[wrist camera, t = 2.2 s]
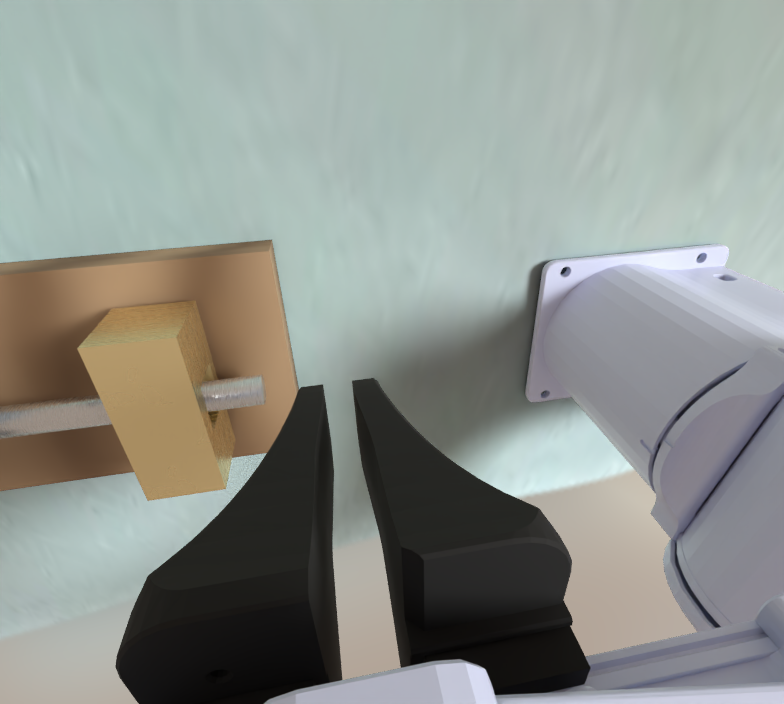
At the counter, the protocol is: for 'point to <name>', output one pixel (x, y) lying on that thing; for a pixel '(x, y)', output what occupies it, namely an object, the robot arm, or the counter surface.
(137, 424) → the nut
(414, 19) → the counter surface
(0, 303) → the base
